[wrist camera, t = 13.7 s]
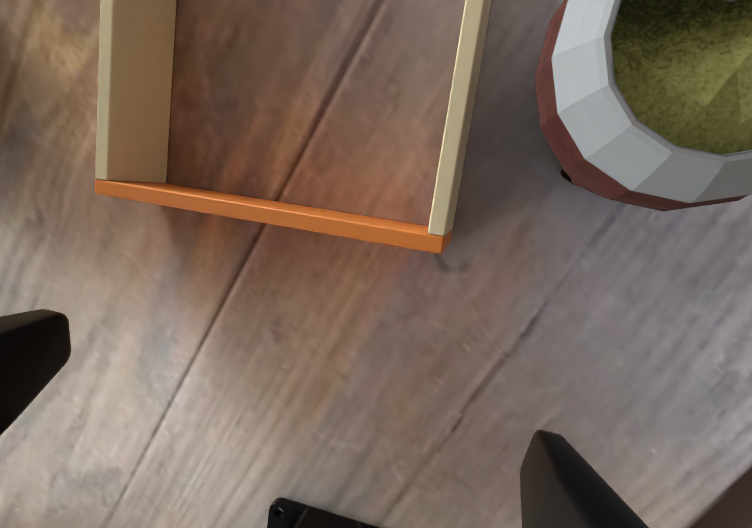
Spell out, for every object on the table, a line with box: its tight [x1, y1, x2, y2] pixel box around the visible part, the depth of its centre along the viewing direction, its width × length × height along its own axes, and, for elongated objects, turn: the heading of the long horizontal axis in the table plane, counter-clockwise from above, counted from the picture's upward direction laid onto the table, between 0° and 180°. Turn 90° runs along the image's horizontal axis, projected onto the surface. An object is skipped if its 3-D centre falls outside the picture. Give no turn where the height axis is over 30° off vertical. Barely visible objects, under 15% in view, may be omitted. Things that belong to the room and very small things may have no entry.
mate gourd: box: [535, 0, 752, 211], centre depth 9 cm, size 8×8×15 cm
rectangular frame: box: [95, 0, 492, 254], centre depth 17 cm, size 13×14×4 cm
